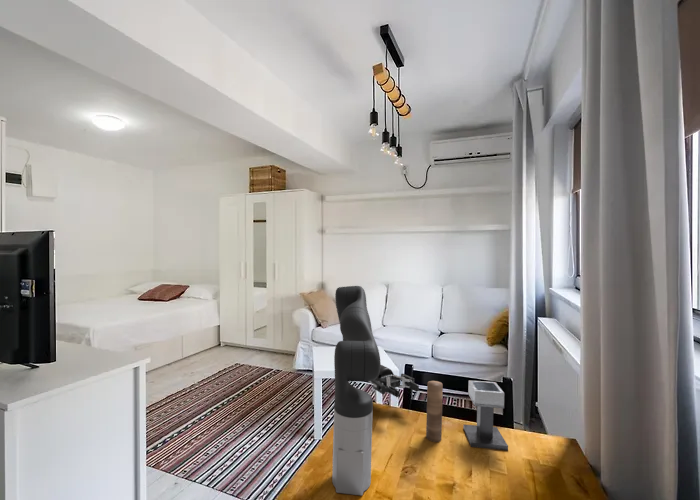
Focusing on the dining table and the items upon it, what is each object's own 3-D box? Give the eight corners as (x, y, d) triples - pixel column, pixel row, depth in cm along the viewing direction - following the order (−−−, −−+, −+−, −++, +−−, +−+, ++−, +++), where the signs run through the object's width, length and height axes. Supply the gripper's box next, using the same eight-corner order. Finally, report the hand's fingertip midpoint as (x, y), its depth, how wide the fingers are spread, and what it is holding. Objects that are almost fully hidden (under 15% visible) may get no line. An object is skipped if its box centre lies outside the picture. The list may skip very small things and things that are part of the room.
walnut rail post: (442, 442, 96) (443, 387, 96) (427, 441, 96) (428, 386, 96) (440, 434, 100) (441, 381, 100) (425, 432, 100) (426, 380, 101)
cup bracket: (508, 450, 93) (509, 394, 93) (471, 446, 94) (472, 392, 94) (496, 431, 102) (497, 381, 103) (463, 428, 104) (464, 378, 104)
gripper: (362, 368, 117) (392, 384, 103) (393, 361, 125) (424, 375, 111) (361, 389, 117) (391, 408, 103) (392, 381, 125) (424, 398, 111)
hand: (408, 391), depth 107 cm, fingers open, 8 cm apart
